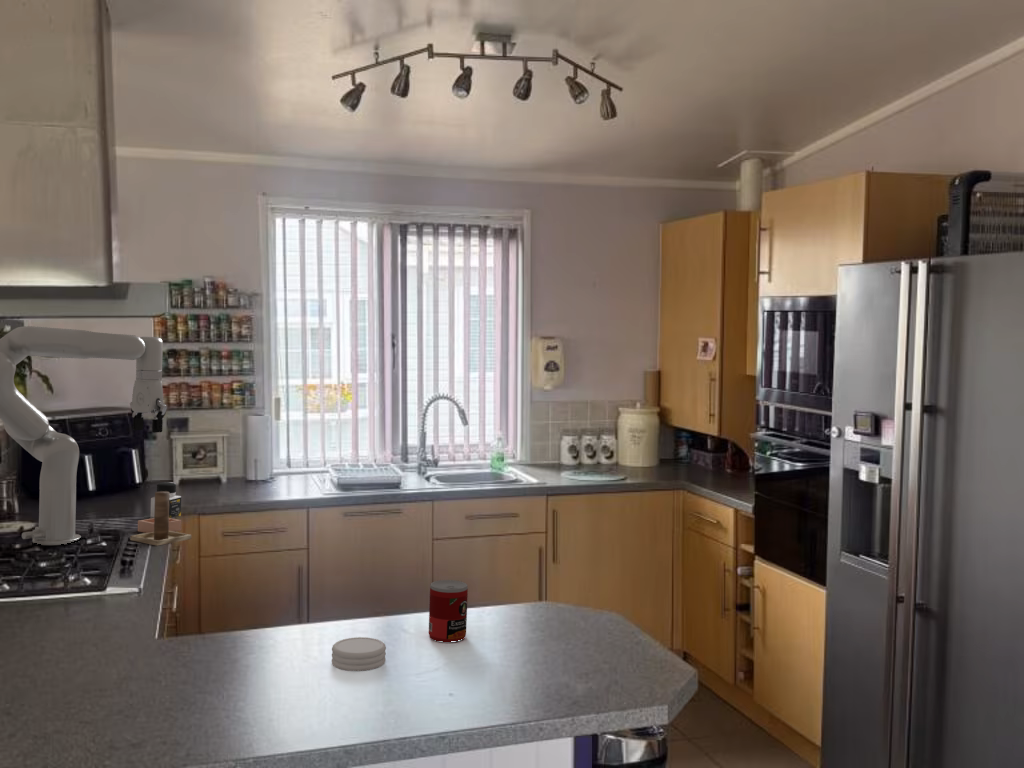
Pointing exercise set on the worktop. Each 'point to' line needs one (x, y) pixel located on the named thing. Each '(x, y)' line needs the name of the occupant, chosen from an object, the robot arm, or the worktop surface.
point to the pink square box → (148, 525)
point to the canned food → (448, 610)
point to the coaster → (358, 654)
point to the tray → (149, 539)
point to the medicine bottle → (173, 500)
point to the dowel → (161, 515)
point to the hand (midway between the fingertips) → (147, 431)
